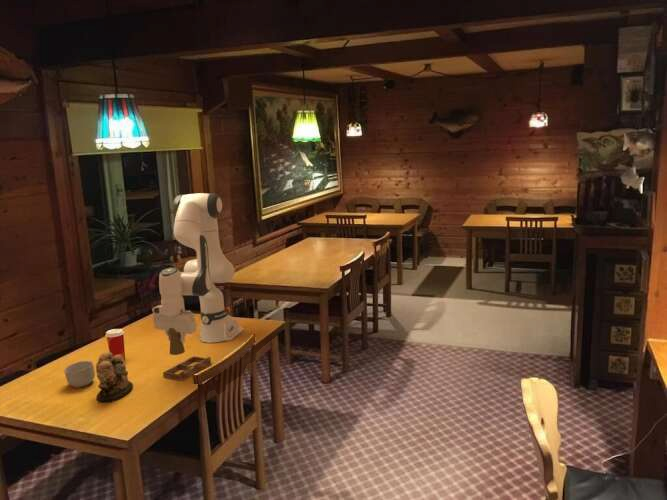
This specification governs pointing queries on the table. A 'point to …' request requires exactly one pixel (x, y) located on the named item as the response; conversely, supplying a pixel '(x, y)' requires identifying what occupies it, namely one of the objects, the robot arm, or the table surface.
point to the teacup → (80, 373)
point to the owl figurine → (112, 378)
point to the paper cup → (116, 342)
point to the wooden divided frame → (187, 368)
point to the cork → (175, 342)
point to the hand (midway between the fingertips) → (176, 341)
